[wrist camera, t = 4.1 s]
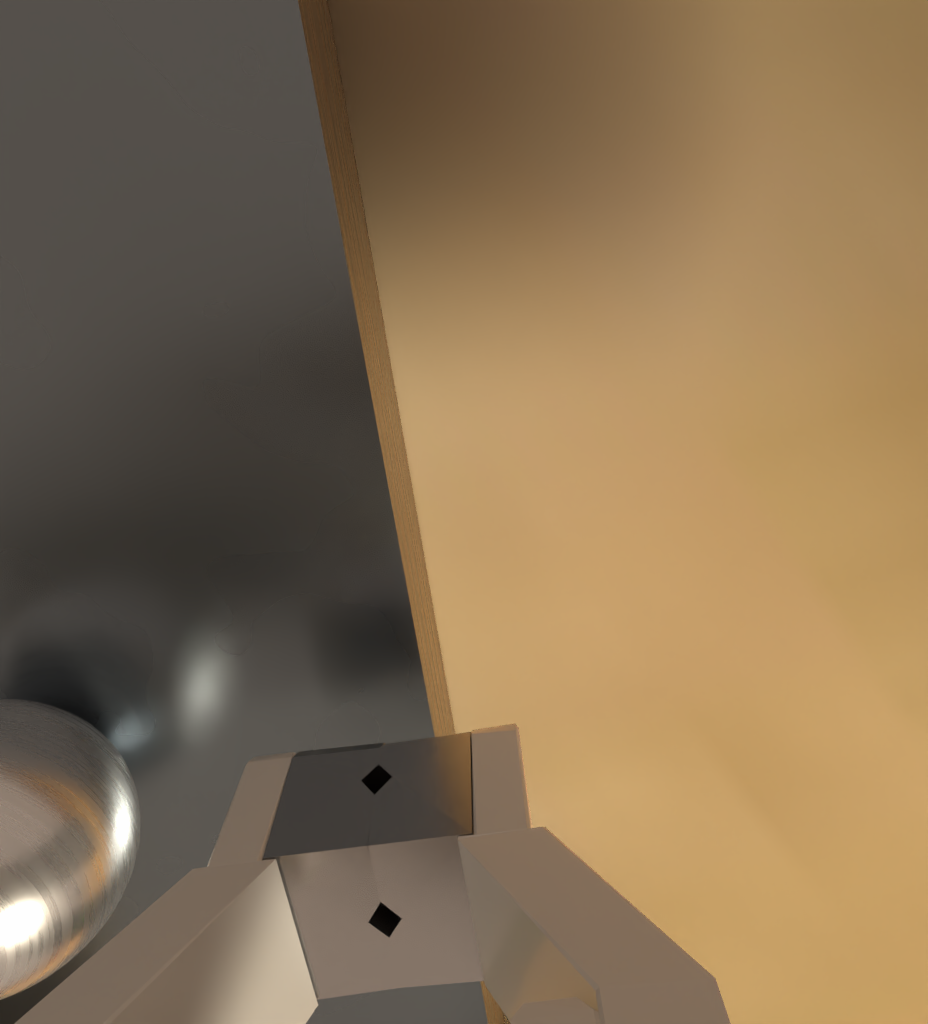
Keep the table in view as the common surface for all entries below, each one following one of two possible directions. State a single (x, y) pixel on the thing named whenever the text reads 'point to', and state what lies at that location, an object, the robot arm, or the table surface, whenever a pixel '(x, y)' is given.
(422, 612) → the plate
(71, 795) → the steel ball
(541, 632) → the table surface
